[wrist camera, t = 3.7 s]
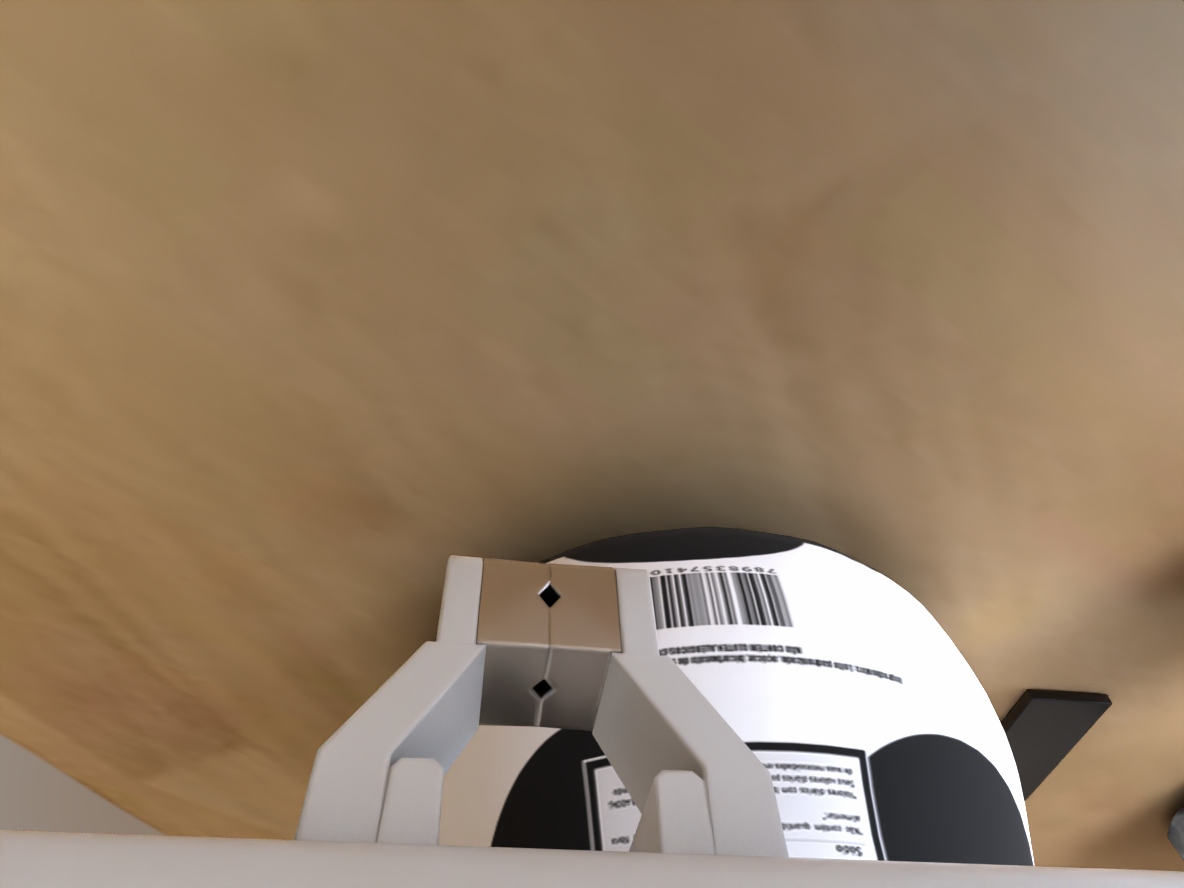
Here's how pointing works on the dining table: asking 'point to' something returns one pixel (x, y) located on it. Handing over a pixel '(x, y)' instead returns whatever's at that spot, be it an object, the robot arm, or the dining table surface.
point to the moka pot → (1177, 832)
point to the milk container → (776, 713)
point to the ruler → (1048, 730)
